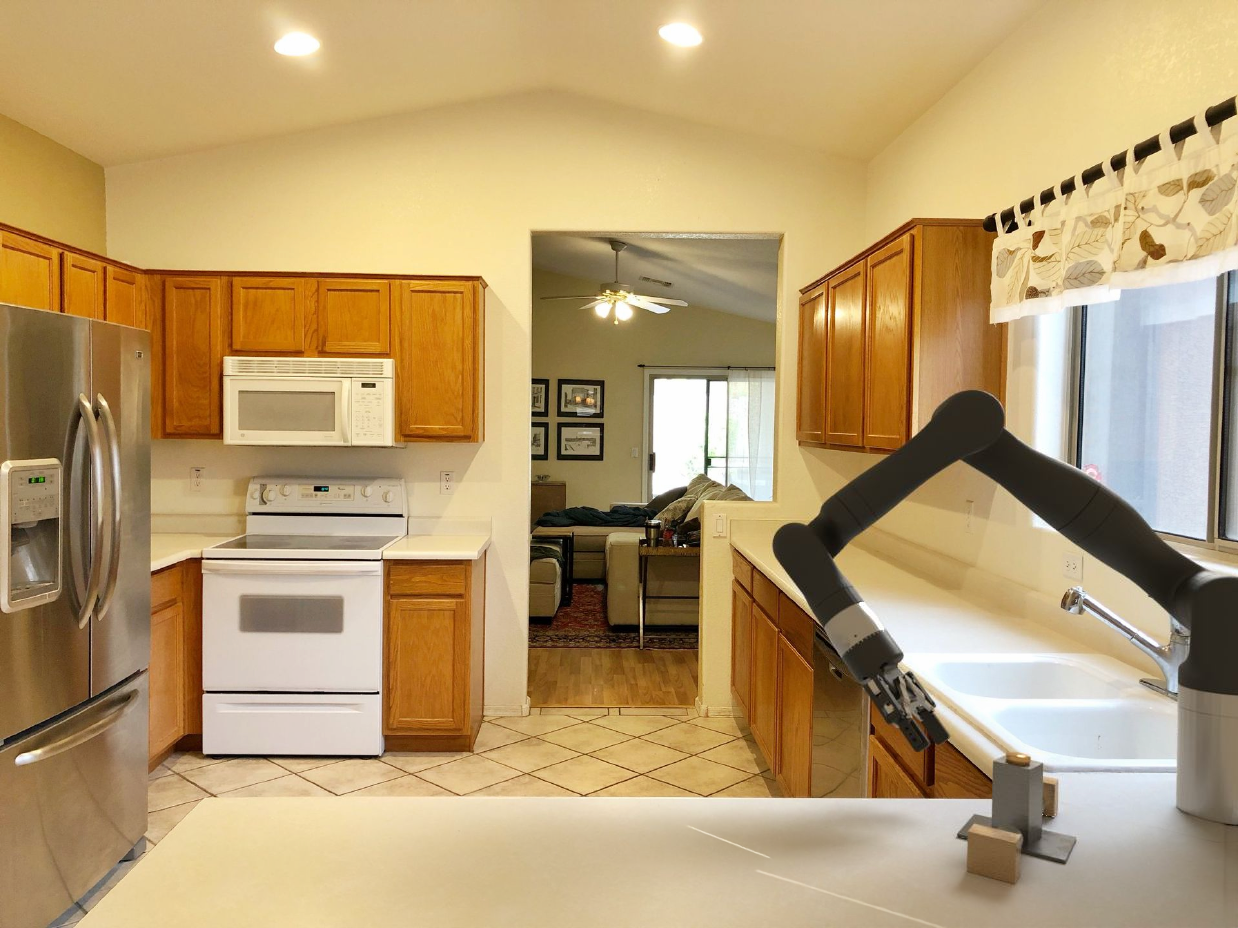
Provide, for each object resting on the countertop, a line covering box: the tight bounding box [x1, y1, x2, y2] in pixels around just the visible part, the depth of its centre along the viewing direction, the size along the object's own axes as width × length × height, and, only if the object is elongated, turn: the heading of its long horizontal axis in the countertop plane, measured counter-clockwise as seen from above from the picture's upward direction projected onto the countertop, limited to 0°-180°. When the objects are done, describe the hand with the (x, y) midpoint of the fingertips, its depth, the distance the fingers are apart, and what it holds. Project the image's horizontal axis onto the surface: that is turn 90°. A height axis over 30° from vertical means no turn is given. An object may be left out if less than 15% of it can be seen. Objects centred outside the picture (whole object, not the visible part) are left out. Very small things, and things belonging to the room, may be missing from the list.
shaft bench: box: [956, 775, 1077, 885], centre depth 107 cm, size 29×12×4 cm, turn 145°
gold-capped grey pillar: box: [991, 751, 1044, 845], centre depth 107 cm, size 4×4×10 cm
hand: (934, 745), depth 115 cm, fingers open, 8 cm apart
